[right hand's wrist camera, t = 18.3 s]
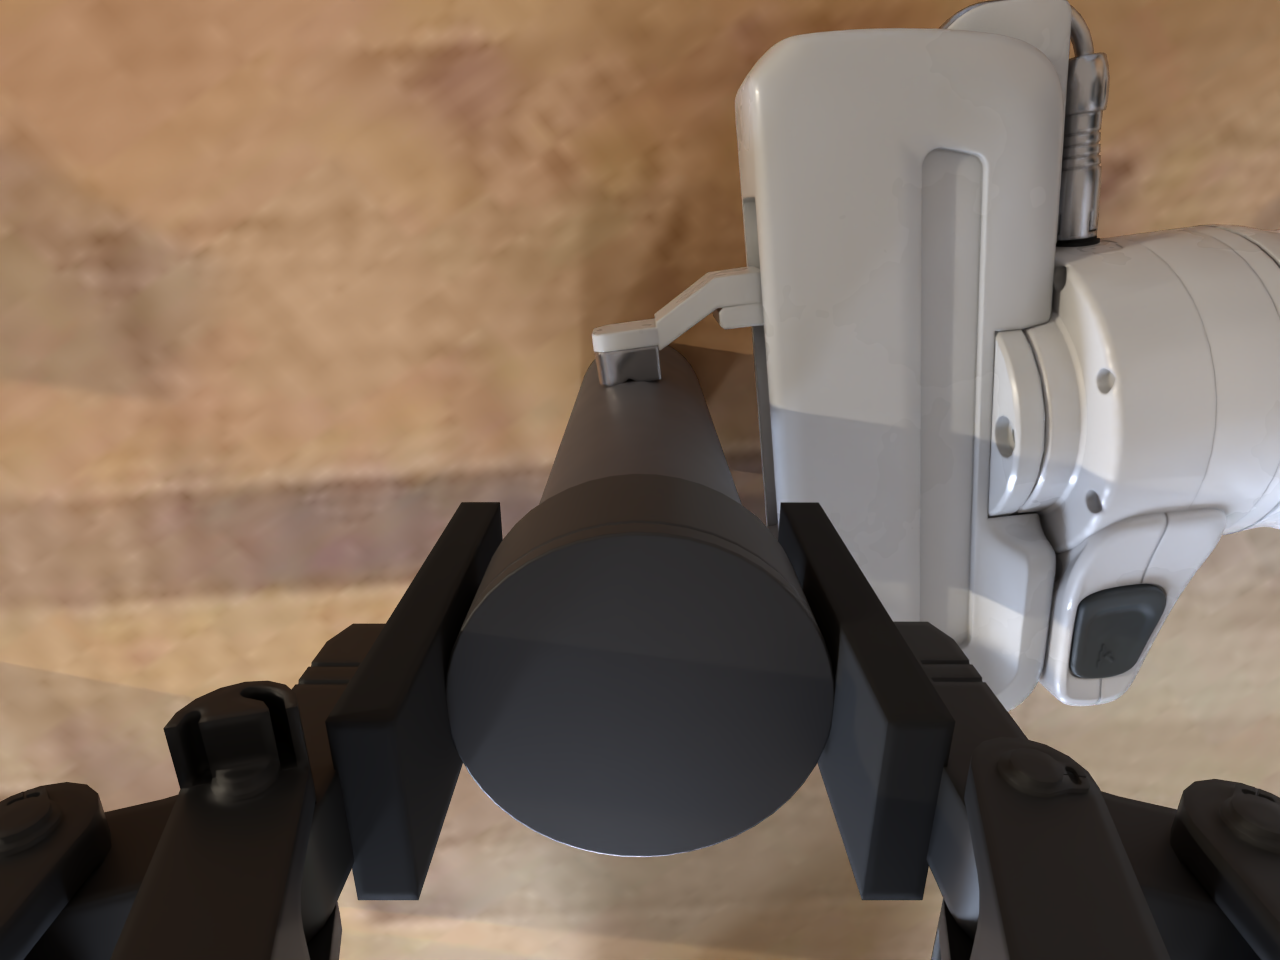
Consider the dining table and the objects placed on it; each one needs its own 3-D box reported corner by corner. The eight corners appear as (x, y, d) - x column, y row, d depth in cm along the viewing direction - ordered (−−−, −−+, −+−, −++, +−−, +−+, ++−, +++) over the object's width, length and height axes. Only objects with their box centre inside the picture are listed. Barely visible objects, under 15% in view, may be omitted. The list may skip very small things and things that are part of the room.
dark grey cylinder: (669, 474, 29) (708, 823, 12) (562, 428, 28) (449, 731, 12) (721, 369, 27) (845, 604, 11) (608, 318, 27) (557, 485, 10)
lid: (631, 402, 11) (629, 447, 9) (868, 617, 12) (916, 702, 10) (413, 630, 12) (365, 718, 10) (646, 802, 14) (648, 911, 12)
